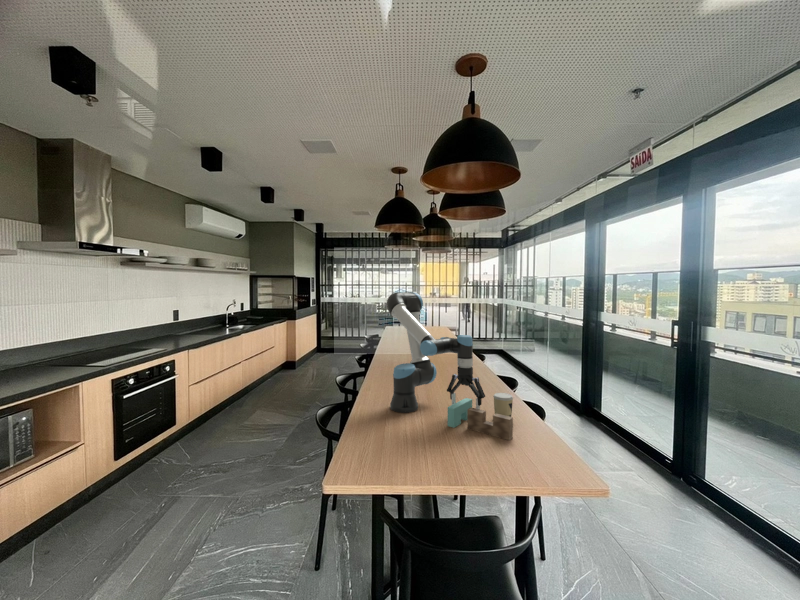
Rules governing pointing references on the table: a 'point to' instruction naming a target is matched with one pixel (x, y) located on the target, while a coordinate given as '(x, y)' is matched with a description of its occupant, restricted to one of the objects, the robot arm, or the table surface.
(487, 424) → the walnut rail
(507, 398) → the coffee cup
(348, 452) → the table surface
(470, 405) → the teal rectangular block
